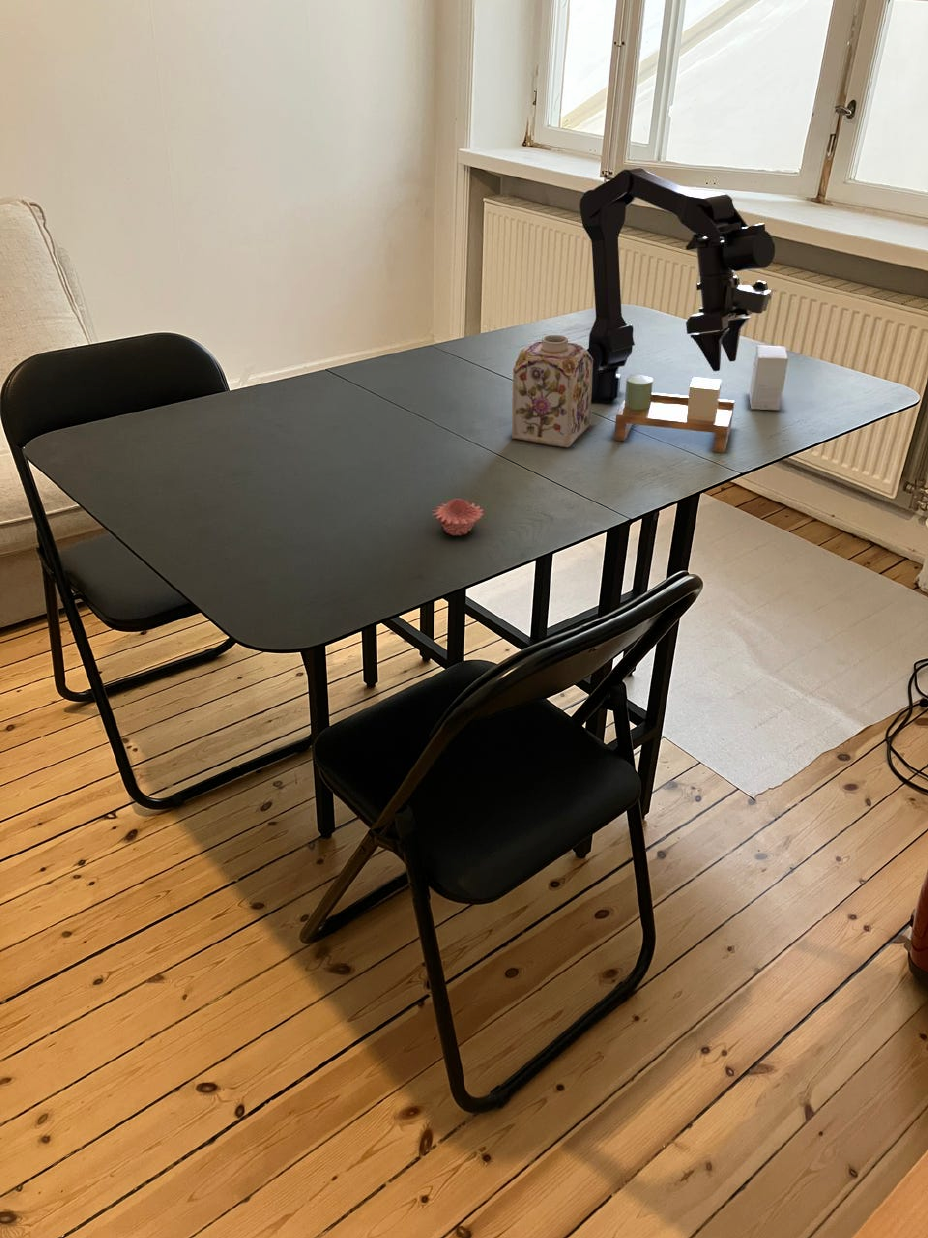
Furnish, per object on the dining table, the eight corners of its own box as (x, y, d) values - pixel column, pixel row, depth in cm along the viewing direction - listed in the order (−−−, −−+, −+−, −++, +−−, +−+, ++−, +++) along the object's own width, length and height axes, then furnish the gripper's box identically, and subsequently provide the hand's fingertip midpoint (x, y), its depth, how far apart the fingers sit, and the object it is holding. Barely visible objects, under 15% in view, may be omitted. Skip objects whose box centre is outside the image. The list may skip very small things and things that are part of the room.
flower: (460, 516, 160) (460, 484, 157) (494, 533, 155) (494, 501, 152) (422, 531, 156) (421, 499, 153) (455, 550, 151) (455, 517, 148)
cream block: (686, 418, 180) (689, 386, 177) (689, 409, 184) (693, 377, 181) (714, 421, 179) (718, 389, 176) (717, 411, 183) (721, 380, 180)
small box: (779, 411, 196) (788, 358, 190) (750, 409, 197) (758, 357, 191) (777, 397, 203) (785, 345, 197) (748, 395, 204) (756, 344, 198)
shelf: (613, 440, 185) (616, 410, 182) (624, 418, 194) (627, 389, 191) (724, 452, 180) (728, 422, 177) (730, 430, 189) (734, 400, 185)
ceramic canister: (622, 408, 185) (624, 382, 182) (627, 399, 189) (629, 374, 186) (648, 411, 184) (650, 385, 181) (652, 402, 187) (655, 376, 185)
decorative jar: (591, 426, 191) (596, 332, 181) (570, 449, 182) (575, 351, 172) (532, 417, 195) (535, 325, 185) (509, 439, 186) (510, 343, 176)
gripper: (747, 272, 160) (755, 371, 165) (778, 260, 174) (784, 351, 179) (680, 283, 166) (690, 378, 171) (715, 270, 180) (723, 358, 185)
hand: (724, 365), depth 176 cm, fingers open, 9 cm apart
